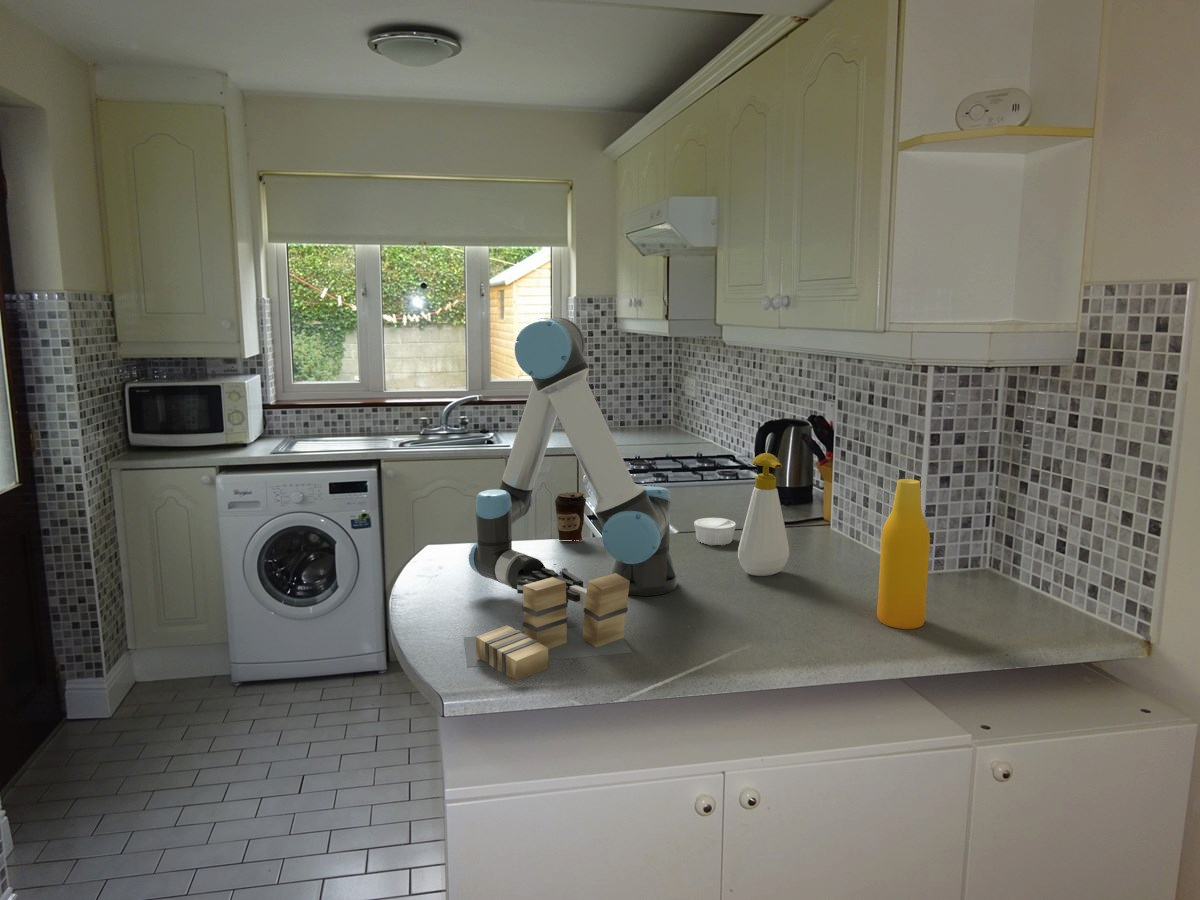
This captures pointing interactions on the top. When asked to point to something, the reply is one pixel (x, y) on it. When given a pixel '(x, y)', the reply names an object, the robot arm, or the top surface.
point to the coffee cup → (570, 516)
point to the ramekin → (714, 531)
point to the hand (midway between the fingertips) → (594, 600)
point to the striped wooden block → (511, 652)
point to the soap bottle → (764, 525)
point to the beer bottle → (904, 560)
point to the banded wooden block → (605, 609)
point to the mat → (558, 648)
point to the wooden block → (545, 612)
